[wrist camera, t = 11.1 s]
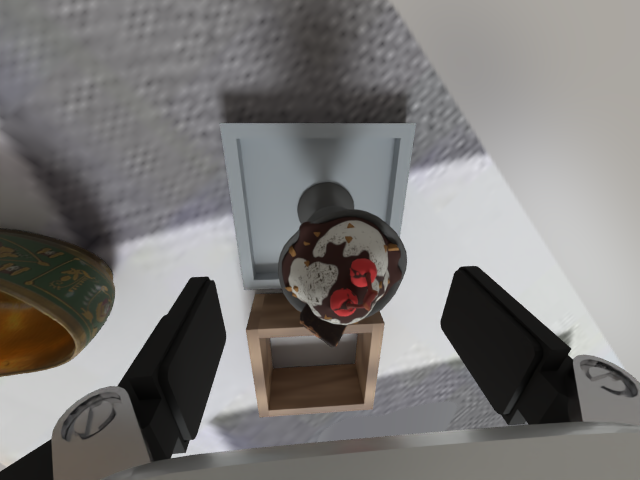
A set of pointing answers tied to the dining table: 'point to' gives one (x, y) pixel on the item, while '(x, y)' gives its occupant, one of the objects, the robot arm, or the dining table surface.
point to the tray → (307, 180)
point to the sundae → (339, 263)
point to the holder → (312, 381)
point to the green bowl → (48, 301)
